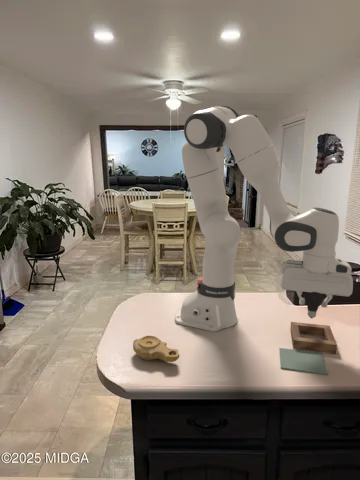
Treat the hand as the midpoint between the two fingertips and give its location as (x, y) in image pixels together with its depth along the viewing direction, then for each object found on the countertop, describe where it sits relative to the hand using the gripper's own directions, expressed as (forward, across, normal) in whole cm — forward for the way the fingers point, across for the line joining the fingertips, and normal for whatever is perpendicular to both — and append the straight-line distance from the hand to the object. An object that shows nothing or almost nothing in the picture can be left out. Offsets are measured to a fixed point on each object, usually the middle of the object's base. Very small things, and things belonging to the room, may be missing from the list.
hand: (312, 305), depth 101 cm
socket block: (+12, +1, 0) cm, 12 cm away
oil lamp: (+14, -44, -20) cm, 50 cm away
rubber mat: (+12, -3, -12) cm, 17 cm away
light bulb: (+4, 0, 0) cm, 4 cm away
